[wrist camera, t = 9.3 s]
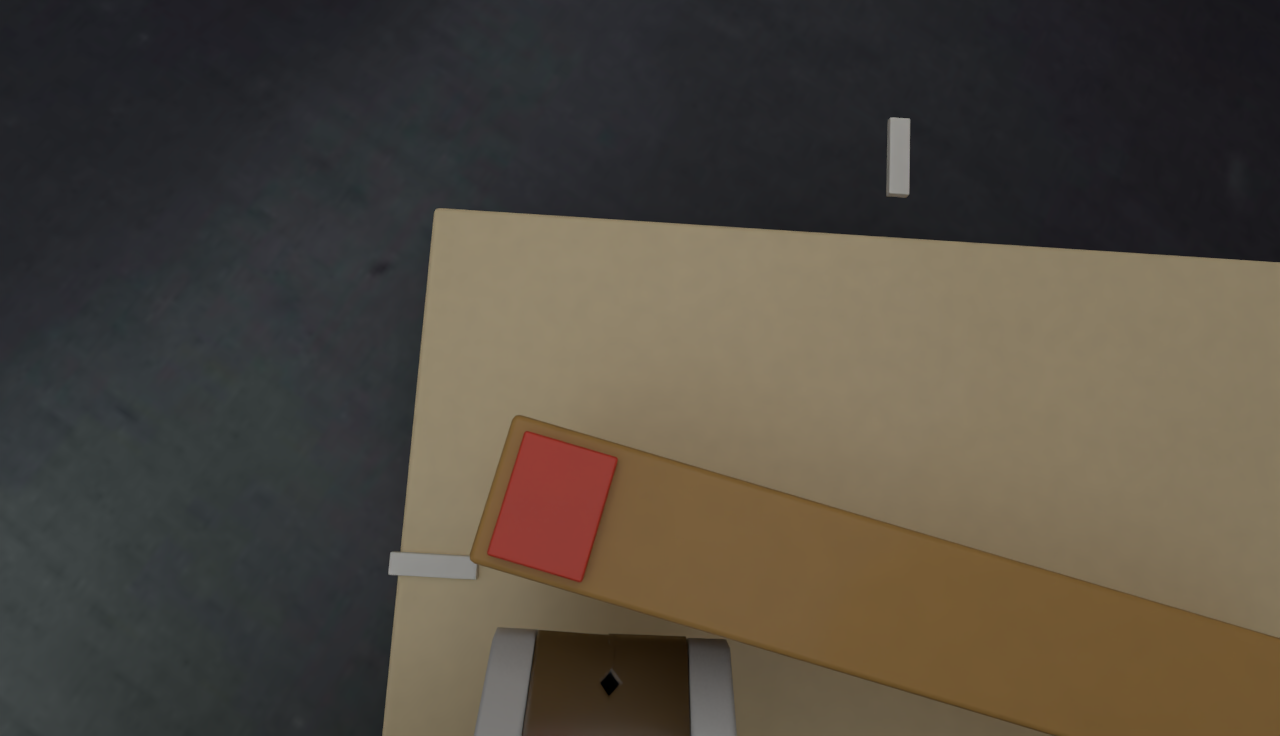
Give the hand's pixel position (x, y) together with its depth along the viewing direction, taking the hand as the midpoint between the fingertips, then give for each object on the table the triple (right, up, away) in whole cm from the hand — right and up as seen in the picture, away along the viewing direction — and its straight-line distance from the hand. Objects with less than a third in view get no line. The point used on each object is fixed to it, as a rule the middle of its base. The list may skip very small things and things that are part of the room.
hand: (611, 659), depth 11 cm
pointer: (+4, 0, +3) cm, 5 cm away
